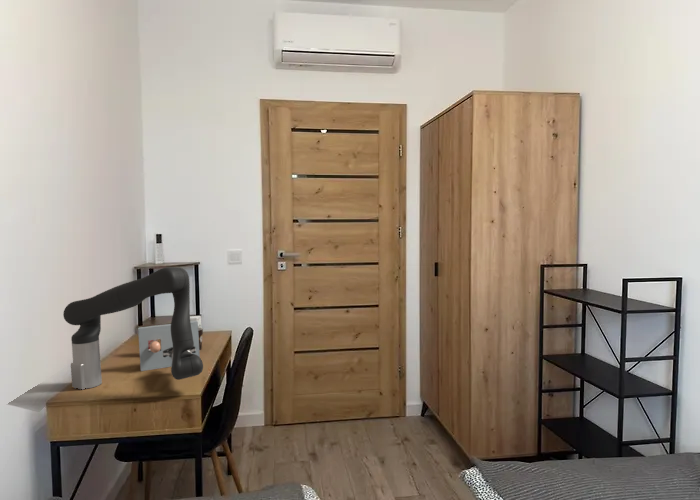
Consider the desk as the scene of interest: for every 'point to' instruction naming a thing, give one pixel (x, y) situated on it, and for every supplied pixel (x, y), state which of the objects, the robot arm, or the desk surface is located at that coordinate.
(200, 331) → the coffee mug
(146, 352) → the panel
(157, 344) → the terracotta button
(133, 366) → the desk surface
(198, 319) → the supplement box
